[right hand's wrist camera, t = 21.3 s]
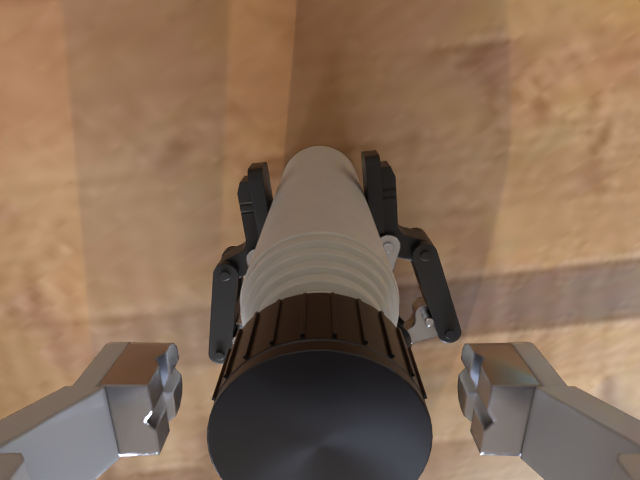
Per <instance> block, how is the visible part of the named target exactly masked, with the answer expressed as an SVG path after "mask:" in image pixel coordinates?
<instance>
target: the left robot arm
mask: <svg viewBox="0 0 640 480" xmlns="http://www.w3.org/2000/svg"><path fill="white" fill-rule="evenodd" d="M361 158H362V172H363V185H364V196H365V198H366V201H367V204H368V207H369V209H370V212H371V215H372V217H373V220H374V223H375V225H376V228H377V231H378V234H379V236H380V239H381V242H382V244H383V247H384V250H385V253H386V255H387V258H388V261H389V263H390V266H391V269H392V271H393V269H394V266H395V263H396V260H397V257H399V258H403V259H407V260H411V263H412V266H413V269H414V272H415V275H416V278H417V281H418V284H419V287H420V290H421V293H422V296H423V297H418V298H417V299H416V300H415V301H414V303H413V305H412V311H413V313H412V316H411V317H410V319H408V320H407V321H405V322H404V321H403V320H402V319H401V318H400V317H399V316H398V322H397V326H396V327H397V328H398V327H399V328H400V329H401V332H402V335H403V338H404V340H405V343H406V345H407V347H410V348H411V345H412V343H415V342H419V341H422V340H425V339H428V338H431V337H435V336H439V339H440V340H441V341H443V342H445V343H452V342H455V341H456V340H458V339H459V337H460V336H461V329H460V325H459V322H458V319H457V315H456V312H455V309H454V306H453V302H452V299H451V296H450V292H449V289H448V286H447V283H446V279H445V276H444V273H443V269H442V266H441V263H440V259H439V256H438V253H437V250H436V248H435V247H434V245H433V244H432V242H431V241H430V239H429V238H428V236H427V235H426V233H425V232H424V231H423V230H422V229H420V228H412V229H409V228H405V227H402V226H400V225H398V220H397V199H396V179H395V175H394V173H393V171H392V169H391V167H390V165H389V164H388V163H387V161H382V162H380V157H379V154H378V153H377V151H376V150H373V151H364V152H361ZM237 194H238V199H239V204H240V210H241V215H242V221H243V226H244V232H245V237H246V242H245V243H243V244H241V245H239V246H237V247H236V246H231V247H228V248H227V249H226V250H225V251H224V253H223V255H222V258H221V260H220V262H219V263H218V264H217V266H216V268H215V269H214V272H213V287H212V304H211V321H210V338H209V357H210V359H211V360H212V361H213V362H215V363H218V364H224V361H225V358H226V355H227V352H228V349H232V346H233V344H234V341H235V338H236V335H237V332H238V330H239V328H240V329H242V328H243V324H242V320H241V315H240V294H241V288H242V284H243V276H245V275H246V273H247V270H248V267H249V265H250V262H251V259H252V256H253V254H254V251H255V248H256V245H257V243H258V240H259V237H260V235H261V232H262V229H263V226H264V224H265V221H266V218H267V216H268V213H269V210H270V207H271V205H272V202H273V197H272V190H271V184H270V177H269V171H268V166H267V163H266V162H261V163H252V164H251V166H250V167H249V168H248V176H244V178H243V179H242V180H241V182H240V184H239V189H238V193H237Z"/></svg>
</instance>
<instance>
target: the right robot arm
mask: <svg viewBox="0 0 640 480" xmlns="http://www.w3.org/2000/svg"><path fill="white" fill-rule="evenodd" d="M178 360H179V356H178V350H177V346H176V345H175V344H174V343H148V342H132V343H131V342H110V343H107V344H106V345H105V346H104V347H103V349H102V350H101V351H100V352H99V353H98V355H97V356H96V357H95V358H94V360H93V361H92V362H91V363H90V365H89V366H88V367H87V368H86V370H85V371H84V372H83V373H82V375H81V376H80V377H79V378H78V380H77V381H76V382H75V383H74V385H73V386H65V387H63V388H61V389H59V390H57V391H55V392H54V393H52V394H50V395H48V396H46V397H44V398H42V399H40V400H38V401H36V402H34V403H33V404H31V405H29V406H27V407H25V408H23V409H21V410H19V411H17V412H15V413H13V414H12V415H10V416H8V417H6V418H4V419H2V420H0V480H96V479H97V478H98V477H99V476H100V475H101V474H102V473H103V472H105V471H106V470H107V469H108V468H109V467H110V466H111V465H112V464H114V463H115V462H116V461H117V460H118V459H119V456H139V455H160V452H161V450H162V448H163V445H164V443H165V441H166V438H167V436H168V434H169V431H170V430H169V423H168V421H170V420H171V419H172V418H174V417H175V416H176V415H177V412H178V409H179V407H180V402H181V397H182V377H181V374H180V373H179V372H178V371H177V370H176V369H175V366H176V364H177V362H178ZM461 360H462V362H463V364H464V366H465V369H464V370H463V371H462V372H461V373H460V374H459V378H458V399H459V403H460V407H461V410H462V412H463V415H464V416H465V417H466V418H468V419H469V420H470V421H472V423H471V430H470V431H471V434H472V436H473V438H474V440H475V443H476V445H477V447H478V450H479V452H480V454H481V455H500V456H521V459H522V460H523V461H524V462H526V463H527V464H528V465H529V466H530V467H531V468H532V469H533V470H535V471H536V472H537V473H538V474H539V475H540V476H541V477H542V478H544V479H545V480H640V420H638V419H636V418H634V417H632V416H630V415H628V414H626V413H624V412H623V411H621V410H619V409H617V408H615V407H613V406H611V405H609V404H607V403H605V402H604V401H602V400H600V399H598V398H596V397H594V396H592V395H590V394H588V393H586V392H584V391H583V390H581V389H579V388H577V387H575V386H567V385H566V383H565V382H564V381H563V380H562V378H561V377H560V376H559V375H558V373H557V372H556V371H555V370H554V369H553V367H552V366H551V365H550V364H549V362H548V361H547V360H546V359H545V357H544V356H543V355H542V354H541V352H540V351H539V350H538V349H537V347H536V346H535V345H534V344H533V343H531V342H508V343H473V344H464V347H463V349H462V355H461Z"/></svg>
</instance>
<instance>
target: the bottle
mask: <svg viewBox="0 0 640 480" xmlns="http://www.w3.org/2000/svg"><path fill="white" fill-rule="evenodd" d="M306 292H307V293H318V292H321V293H322V292H325V293H331V292H334V293H335V294H340V295H345V296H349V297H352V298H355V299H357V298H359V299H361V301H363V302H365V303H367V304H369V305H371V306H373V307H374V308H376V309H377V310H378V311H383V312H384V315H385V316H386V317H387V318H388V319H389V320H391V321H392V323H393V324H394V325H395V326H397V322H398V316H399V291H398V287H397V282H396V280H395V277H394V274H393V271H392V269H391V266H390V263H389V261H388V258H387V255H386V253H385V250H384V247H383V244H382V242H381V239H380V236H379V234H378V231H377V228H376V225H375V223H374V220H373V217H372V215H371V212H370V209H369V207H368V204H367V201H366V198H365V196H364V193H363V190H362V188H361V185H360V182H359V179H358V177H357V174H356V171H355V169H354V167H353V165H352V163H351V162H350V160H349V159H348V158H347V157H346V156H345V155H344V154H343V153H341V152H340V151H338V150H336V149H334V148H331V147H327V146H312V147H308V148H306V149H303V150H301V151H300V152H298V153H297V154H295V155H294V156H293V157H292V158H291V159H290V161H289V162H288V163H287V165H286V167H285V170H284V172H283V175H282V178H281V180H280V183H279V186H278V188H277V191H276V194H275V197H274V199H273V202H272V205H271V207H270V210H269V213H268V216H267V218H266V221H265V224H264V226H263V229H262V232H261V235H260V237H259V240H258V243H257V245H256V248H255V251H254V254H253V256H252V259H251V262H250V265H249V267H248V270H247V273H246V275H245V278H244V281H243V284H242V288H241V294H240V311H241V320H242V324H243V327H244V326H245V324H246V323H247V322H248V321H249V320H250V319H251V318H252V317H253V316H254V313H255V312H257V311H258V312H260V311H261V310H262V309H264V308H265V307H267V306H269V305H271V304H273V303H275V302H277V300H278V299H281V300H282V299H284V298H287V297H291V296H295V295H299V294H303V293H306Z"/></svg>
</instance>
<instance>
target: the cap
mask: <svg viewBox="0 0 640 480" xmlns="http://www.w3.org/2000/svg"><path fill="white" fill-rule="evenodd" d="M426 398H427V396H426V393H425V390H424V387H423V384H422V381H421V378H420V375H419V372H418V369H417V366H416V363H415V360H414V357H413V354H412V351H411V348H410V347H407V345H406V343H405V340H404V338H403V335H402V332H401V329H400V328H399V327H398V328H397V327H396V326H395V325H394V324H393V323H392V321H391V320H389V319H388V318H387V317H386V316H385V315H384V312H383V311H378V310H377V309H376V308H374V307H373V306H371V305H369V304H367V303H365V302H363V301H361V299H359V298H357V299H355V298H352V297H349V296H345V295H340V294H335V293H334V292H331V293H325V292H322V293H321V292H318V293H307V292H306V293H303V294H299V295H295V296H291V297H287V298H284V299H282V300H281V299H278V300H277V302H275V303H273V304H271V305H269V306H267V307H265V308H264V309H262V310H261V311H260V312H258V311H257V312H255V313H254V316H253V317H252V318H251V319H250V320H249V321H248V322H247V323H246V324H245V326H244V327H243V328H242V329H240V328H239V330H238V332H237V335H236V338H235V341H234V344H233V346H232V349H228V352H227V355H226V358H225V361H224V364H223V367H222V370H221V373H220V376H219V379H218V382H217V385H216V388H215V391H214V394H213V397H212V400H214V405H213V408H212V411H211V414H210V418H209V422H208V427H207V443H208V450H209V454H210V457H211V460H212V463H213V465H214V467H215V469H216V471H217V473H218V475H219V476H220V478H221V479H222V480H418V478H419V477H420V475H421V474H422V472H423V470H424V468H425V466H426V464H427V462H428V459H429V455H430V452H431V447H432V438H433V435H432V424H431V419H430V416H429V412H428V409H427V406H426V403H425V400H424V399H426Z"/></svg>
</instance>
